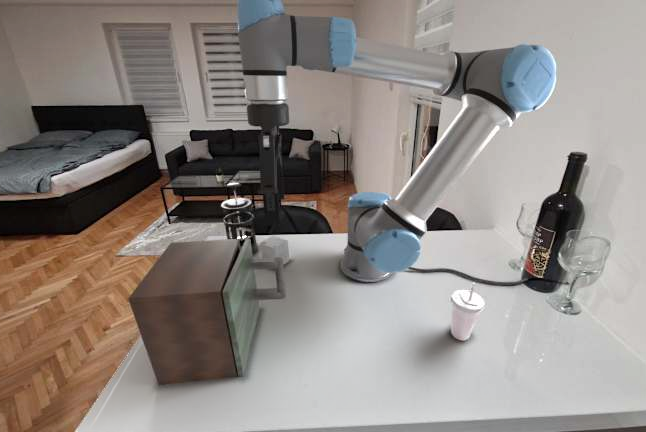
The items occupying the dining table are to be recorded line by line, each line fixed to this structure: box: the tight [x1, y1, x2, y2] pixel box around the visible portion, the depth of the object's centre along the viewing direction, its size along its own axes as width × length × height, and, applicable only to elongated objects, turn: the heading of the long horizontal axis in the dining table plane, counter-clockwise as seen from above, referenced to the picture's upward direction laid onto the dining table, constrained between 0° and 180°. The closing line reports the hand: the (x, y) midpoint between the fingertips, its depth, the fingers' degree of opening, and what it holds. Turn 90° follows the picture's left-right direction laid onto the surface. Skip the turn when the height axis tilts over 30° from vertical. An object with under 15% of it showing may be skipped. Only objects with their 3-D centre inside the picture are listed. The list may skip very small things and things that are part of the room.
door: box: [222, 239, 287, 377], centre depth 61 cm, size 8×18×20 cm, turn 3°
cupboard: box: [127, 239, 242, 386], centre depth 60 cm, size 14×18×20 cm
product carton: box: [259, 235, 291, 266], centre depth 91 cm, size 6×6×7 cm
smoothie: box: [450, 282, 485, 342], centre depth 64 cm, size 6×6×14 cm
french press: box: [220, 182, 259, 256], centre depth 95 cm, size 12×9×23 cm
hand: (275, 210), depth 63 cm, fingers open, 13 cm apart
